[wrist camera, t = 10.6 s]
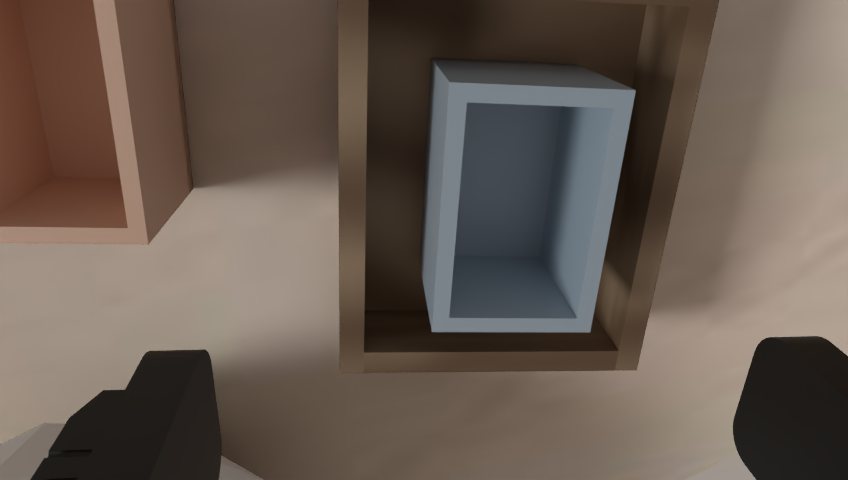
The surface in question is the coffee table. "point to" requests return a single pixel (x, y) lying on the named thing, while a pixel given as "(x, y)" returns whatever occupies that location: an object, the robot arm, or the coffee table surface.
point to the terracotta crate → (90, 121)
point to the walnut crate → (405, 163)
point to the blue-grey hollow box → (518, 193)
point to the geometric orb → (21, 456)
